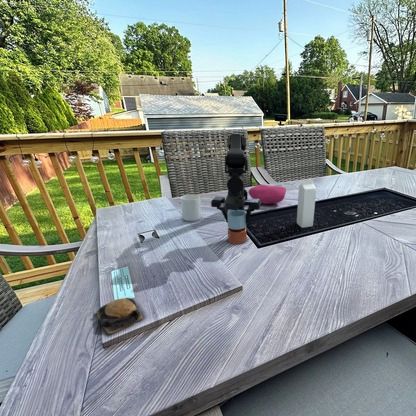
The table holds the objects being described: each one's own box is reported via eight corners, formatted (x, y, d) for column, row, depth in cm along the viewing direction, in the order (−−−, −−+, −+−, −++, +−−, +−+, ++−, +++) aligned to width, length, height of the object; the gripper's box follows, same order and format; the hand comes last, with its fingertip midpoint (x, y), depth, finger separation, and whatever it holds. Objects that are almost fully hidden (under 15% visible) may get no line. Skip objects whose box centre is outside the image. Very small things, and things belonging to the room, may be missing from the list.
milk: (313, 226, 125) (317, 181, 118) (301, 228, 123) (305, 182, 115) (307, 221, 130) (310, 178, 123) (296, 223, 128) (299, 179, 120)
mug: (203, 220, 125) (201, 198, 121) (183, 223, 121) (181, 200, 118) (199, 212, 135) (198, 191, 131) (181, 214, 132) (179, 193, 128)
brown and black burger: (94, 313, 66) (91, 301, 65) (130, 298, 72) (128, 287, 71) (106, 337, 59) (102, 324, 58) (145, 318, 65) (143, 306, 64)
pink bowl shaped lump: (244, 200, 157) (243, 184, 154) (266, 194, 170) (266, 179, 167) (270, 210, 143) (271, 193, 140) (293, 203, 156) (293, 187, 153)
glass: (235, 220, 111) (235, 208, 109) (249, 224, 108) (249, 212, 106) (223, 226, 105) (223, 213, 103) (238, 231, 101) (238, 218, 99)
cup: (236, 234, 113) (235, 223, 111) (249, 238, 110) (249, 227, 108) (224, 240, 107) (223, 229, 105) (238, 245, 103) (238, 234, 102)
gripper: (204, 189, 93) (207, 229, 99) (256, 193, 92) (256, 233, 98) (214, 182, 104) (216, 218, 109) (261, 185, 103) (261, 221, 108)
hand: (236, 223), depth 106 cm, fingers closed on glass, 7 cm apart
